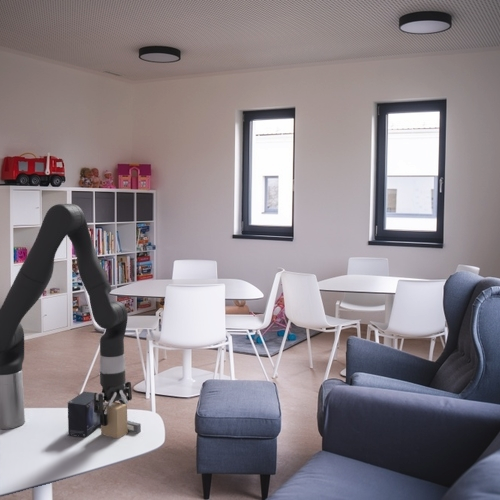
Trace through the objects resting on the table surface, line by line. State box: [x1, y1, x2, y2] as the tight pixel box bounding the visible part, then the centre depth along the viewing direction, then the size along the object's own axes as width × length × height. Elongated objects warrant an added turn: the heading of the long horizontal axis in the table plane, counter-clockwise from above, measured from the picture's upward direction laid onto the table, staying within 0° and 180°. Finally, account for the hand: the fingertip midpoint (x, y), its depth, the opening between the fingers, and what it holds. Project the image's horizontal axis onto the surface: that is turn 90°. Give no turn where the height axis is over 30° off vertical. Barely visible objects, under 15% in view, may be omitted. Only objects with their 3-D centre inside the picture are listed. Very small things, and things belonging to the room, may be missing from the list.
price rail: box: [127, 420, 142, 434], centre depth 206 cm, size 22×2×2 cm, turn 60°
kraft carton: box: [100, 401, 129, 439], centre depth 200 cm, size 5×6×9 cm
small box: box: [67, 391, 101, 438], centre depth 202 cm, size 11×6×10 cm, turn 166°
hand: (113, 420), depth 200 cm, fingers open, 8 cm apart
